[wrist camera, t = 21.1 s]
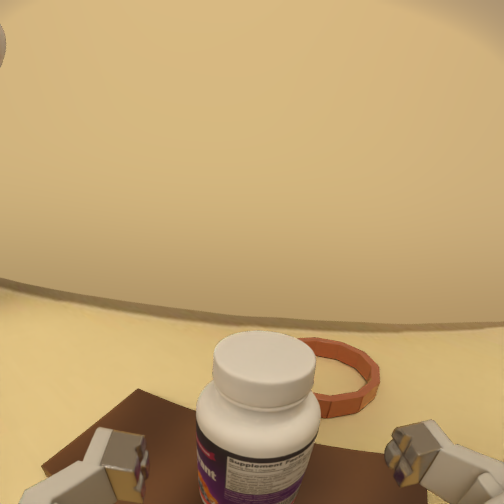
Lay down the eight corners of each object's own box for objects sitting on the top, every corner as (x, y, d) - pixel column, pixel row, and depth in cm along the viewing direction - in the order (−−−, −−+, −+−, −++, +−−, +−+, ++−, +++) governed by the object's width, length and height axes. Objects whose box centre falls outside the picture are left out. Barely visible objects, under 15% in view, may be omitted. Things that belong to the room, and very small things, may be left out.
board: (45, 475, 12) (40, 465, 12) (138, 397, 23) (137, 387, 22) (418, 595, 6) (427, 590, 6) (418, 465, 16) (424, 455, 16)
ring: (244, 399, 24) (246, 382, 24) (278, 344, 34) (280, 330, 34) (374, 426, 21) (380, 409, 21) (374, 361, 31) (378, 347, 31)
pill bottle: (199, 457, 16) (199, 319, 14) (286, 457, 17) (314, 323, 15) (197, 527, 11) (189, 391, 9) (303, 525, 12) (355, 390, 10)
